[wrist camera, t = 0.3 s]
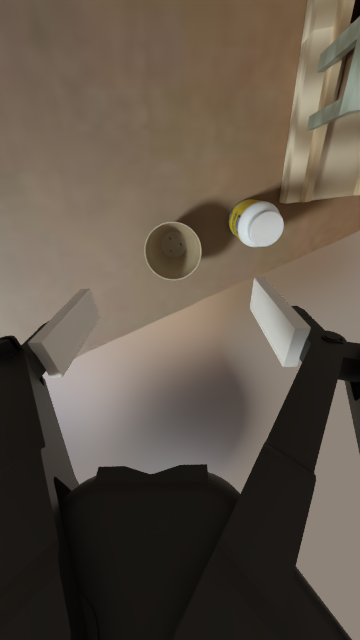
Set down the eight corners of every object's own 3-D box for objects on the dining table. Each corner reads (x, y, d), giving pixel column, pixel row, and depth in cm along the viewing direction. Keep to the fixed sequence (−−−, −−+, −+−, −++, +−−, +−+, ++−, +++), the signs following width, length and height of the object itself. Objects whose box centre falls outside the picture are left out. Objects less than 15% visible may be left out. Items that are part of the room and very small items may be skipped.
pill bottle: (229, 199, 36) (247, 203, 26) (265, 198, 36) (296, 201, 26) (226, 237, 39) (240, 253, 30) (258, 236, 39) (283, 252, 30)
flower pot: (203, 260, 42) (206, 272, 36) (159, 272, 44) (155, 286, 38) (192, 209, 37) (194, 213, 31) (142, 225, 38) (135, 231, 32)
